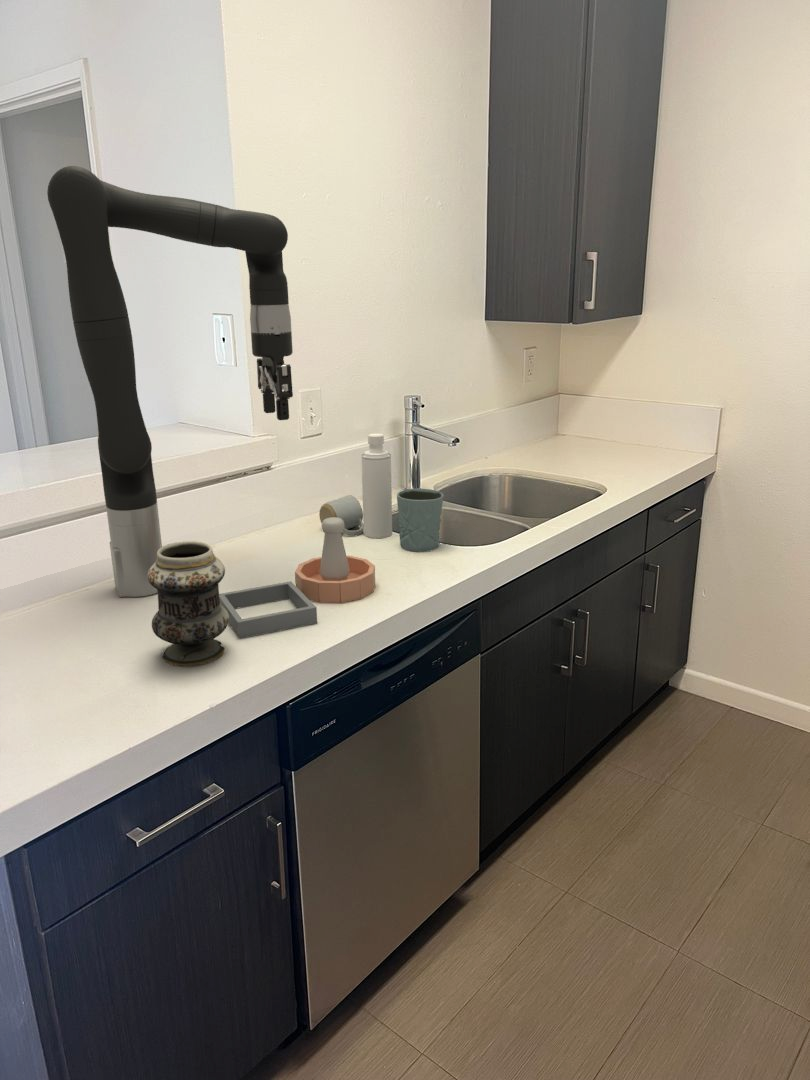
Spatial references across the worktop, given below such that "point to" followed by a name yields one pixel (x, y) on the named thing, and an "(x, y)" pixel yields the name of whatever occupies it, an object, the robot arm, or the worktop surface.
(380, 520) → the grey bottle
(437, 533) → the drinking glass
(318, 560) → the terracotta bowl
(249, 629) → the tray
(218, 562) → the apothecary jar
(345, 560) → the salt shaker
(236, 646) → the worktop surface
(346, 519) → the ceramic mug
